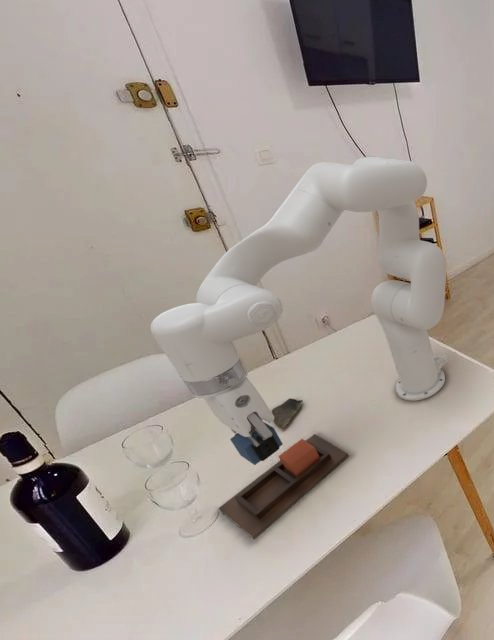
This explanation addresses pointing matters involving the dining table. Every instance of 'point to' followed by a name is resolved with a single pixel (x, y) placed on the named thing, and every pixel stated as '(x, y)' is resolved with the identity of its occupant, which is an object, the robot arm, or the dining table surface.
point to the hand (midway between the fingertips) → (261, 448)
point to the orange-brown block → (299, 457)
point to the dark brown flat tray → (279, 490)
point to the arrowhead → (285, 412)
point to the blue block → (245, 445)
